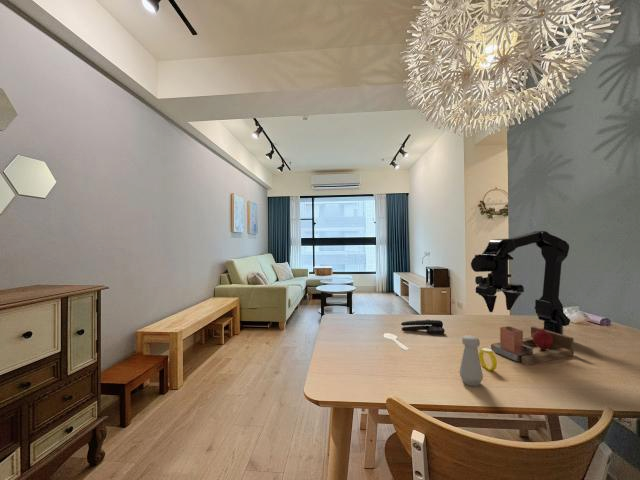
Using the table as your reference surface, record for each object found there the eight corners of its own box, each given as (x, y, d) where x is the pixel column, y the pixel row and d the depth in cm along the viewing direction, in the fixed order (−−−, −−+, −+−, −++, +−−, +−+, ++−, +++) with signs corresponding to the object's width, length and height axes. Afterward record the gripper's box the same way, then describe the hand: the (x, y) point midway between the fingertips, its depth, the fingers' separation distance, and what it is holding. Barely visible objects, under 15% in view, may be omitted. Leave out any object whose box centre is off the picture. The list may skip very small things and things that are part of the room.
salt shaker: (455, 377, 80) (454, 333, 80) (473, 376, 80) (473, 332, 80) (467, 388, 74) (467, 340, 74) (487, 387, 74) (487, 340, 74)
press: (508, 348, 99) (508, 324, 99) (532, 358, 91) (532, 331, 91) (493, 351, 97) (493, 326, 97) (517, 361, 89) (517, 334, 89)
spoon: (400, 351, 99) (400, 350, 99) (380, 334, 117) (380, 333, 117) (413, 350, 100) (413, 348, 100) (392, 333, 118) (392, 332, 118)
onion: (557, 353, 95) (557, 330, 95) (538, 352, 96) (538, 330, 96) (547, 347, 101) (546, 325, 101) (529, 346, 102) (529, 324, 102)
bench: (533, 341, 106) (533, 326, 106) (573, 355, 94) (573, 337, 94) (491, 349, 100) (490, 332, 100) (527, 364, 87) (527, 346, 87)
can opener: (442, 331, 120) (442, 318, 120) (445, 336, 114) (445, 323, 114) (400, 327, 125) (400, 315, 125) (401, 332, 119) (401, 319, 119)
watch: (477, 365, 88) (475, 346, 88) (484, 364, 88) (483, 346, 89) (491, 373, 82) (490, 352, 82) (499, 372, 82) (498, 352, 83)
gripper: (498, 268, 117) (498, 304, 117) (464, 270, 112) (464, 308, 112) (524, 271, 107) (524, 310, 107) (488, 273, 101) (488, 315, 101)
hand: (499, 311), depth 107 cm, fingers open, 9 cm apart
